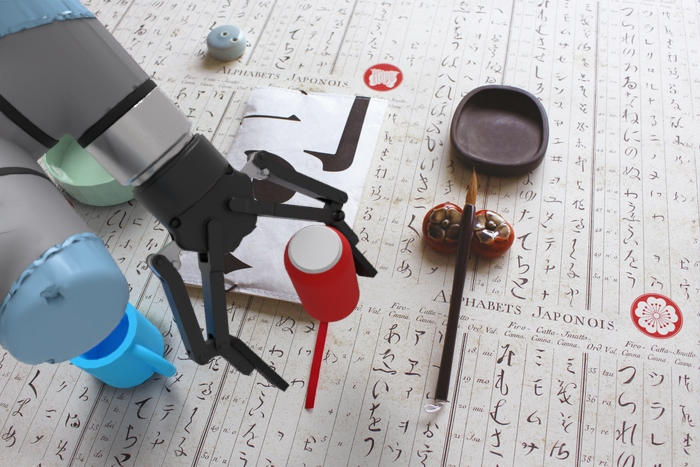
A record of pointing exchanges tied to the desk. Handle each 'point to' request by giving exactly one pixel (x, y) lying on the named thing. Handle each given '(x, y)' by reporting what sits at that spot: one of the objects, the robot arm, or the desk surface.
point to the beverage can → (322, 272)
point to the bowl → (84, 175)
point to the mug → (127, 353)
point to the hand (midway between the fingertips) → (326, 327)
